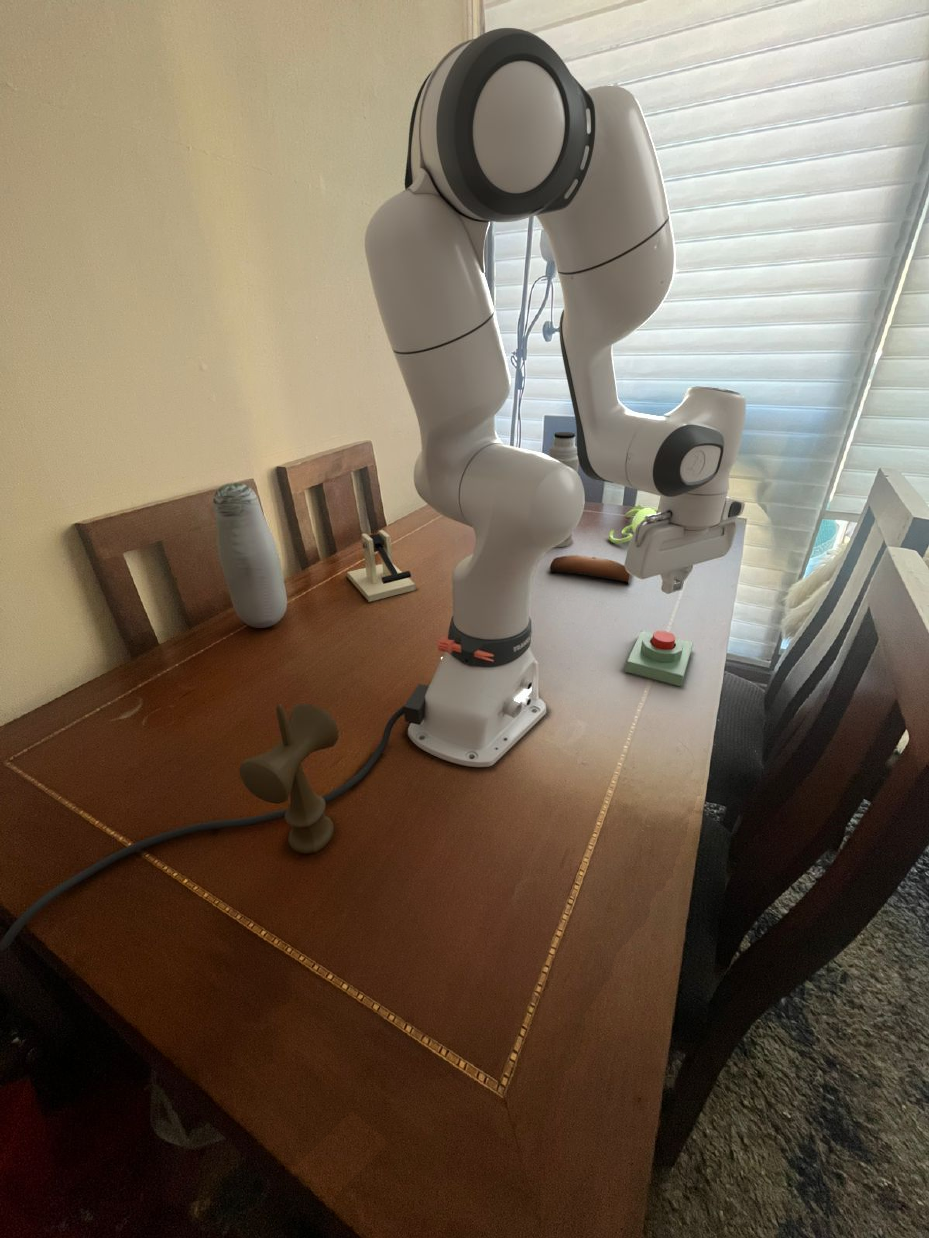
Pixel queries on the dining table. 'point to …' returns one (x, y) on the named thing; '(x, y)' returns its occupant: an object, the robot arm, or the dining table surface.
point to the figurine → (633, 522)
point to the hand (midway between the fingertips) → (671, 590)
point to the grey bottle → (249, 557)
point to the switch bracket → (377, 573)
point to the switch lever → (387, 561)
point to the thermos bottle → (565, 458)
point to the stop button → (663, 640)
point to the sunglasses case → (590, 567)
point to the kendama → (295, 775)
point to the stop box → (659, 660)
